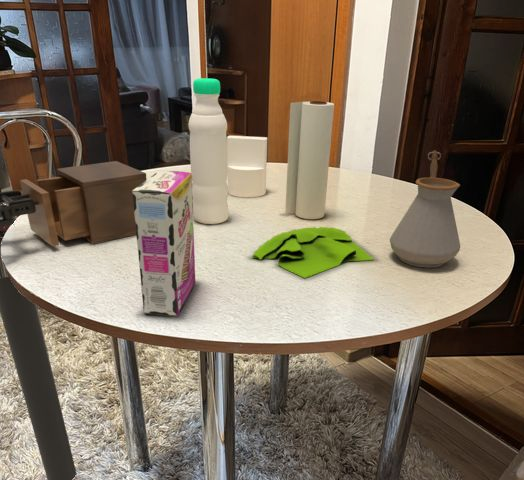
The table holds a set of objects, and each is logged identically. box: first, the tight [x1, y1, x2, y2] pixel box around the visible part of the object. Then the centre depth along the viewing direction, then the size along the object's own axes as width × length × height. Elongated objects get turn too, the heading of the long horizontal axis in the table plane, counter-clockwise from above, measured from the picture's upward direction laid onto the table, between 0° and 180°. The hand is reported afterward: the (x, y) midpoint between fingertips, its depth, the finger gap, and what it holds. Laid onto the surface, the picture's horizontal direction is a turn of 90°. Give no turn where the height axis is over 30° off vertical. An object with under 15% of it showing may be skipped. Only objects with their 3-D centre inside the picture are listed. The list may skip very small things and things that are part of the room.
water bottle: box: [187, 77, 229, 225], centre depth 96 cm, size 7×7×25 cm
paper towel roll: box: [284, 100, 335, 220], centre depth 101 cm, size 7×6×21 cm
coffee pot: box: [389, 149, 461, 269], centre depth 87 cm, size 21×12×15 cm, turn 166°
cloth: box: [251, 226, 375, 279], centre depth 88 cm, size 20×22×2 cm
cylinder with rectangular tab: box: [226, 135, 268, 198], centre depth 117 cm, size 9×9×12 cm
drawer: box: [0, 176, 90, 247], centre depth 88 cm, size 15×10×9 cm
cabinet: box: [55, 160, 148, 245], centre depth 93 cm, size 12×12×11 cm
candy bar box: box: [132, 170, 196, 317], centre depth 68 cm, size 11×5×16 cm, turn 174°
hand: (27, 200), depth 85 cm, fingers closed on drawer, 5 cm apart
